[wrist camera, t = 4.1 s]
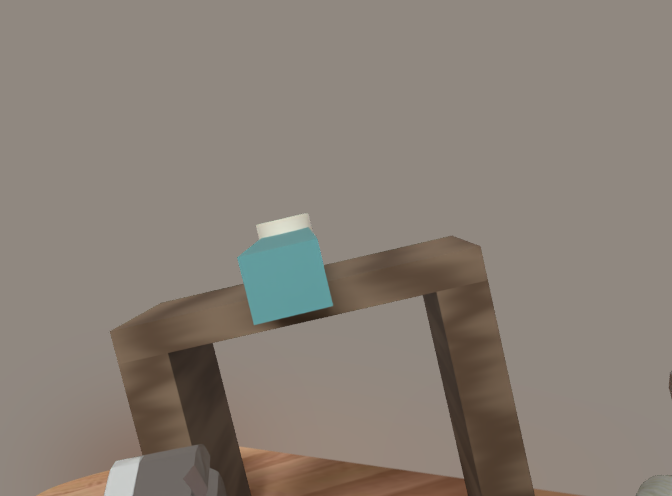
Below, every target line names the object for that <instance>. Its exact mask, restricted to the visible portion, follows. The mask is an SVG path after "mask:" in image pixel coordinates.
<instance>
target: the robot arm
mask: <svg viewBox="0 0 672 496" xmlns="http://www.w3.org/2000/svg"><path fill="white" fill-rule="evenodd" d="M669 389H670V393H671V397H672V371H671V372H670V380H669ZM104 496H227V492H226V489H225V486H224V482H223V480H222V478H221V476H220V474H219V472H218V471H216V470H214V469H212V468H210V454H209V453H208V451H207V449H206V448H205V446H204V444H199V445H193V446H188V447H183V448H178V449H173V450H168V451H162V452H157V453H152V454H147V455H143V456H138V457H133V458H128V459H123V460H119V461H116V462H115V463H114V465H113V466H112V468H111V470H110V472H109V477H108V481H107V485H106V489H105V493H104Z"/></svg>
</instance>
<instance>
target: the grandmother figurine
mask: <svg viewBox="0 0 672 496" xmlns="http://www.w3.org/2000/svg"><path fill="white" fill-rule="evenodd" d="M636 496H672V475H666V476H664V475H663V476H662V475H657V476H653V477H651V478H649V479H648V480H647V481H645V482H643V484H642V485H641V486H640V488H639V491H638V493H637V494H636Z"/></svg>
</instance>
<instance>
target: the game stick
mask: <svg viewBox="0 0 672 496" xmlns="http://www.w3.org/2000/svg"><path fill="white" fill-rule="evenodd" d="M256 228H257V232H258V236H259V241H257V242H256V243H255V244H253V245H252V246H251V247H250V248H248V249H247V250H246V251H245V252H244V253H242V254H241V255H240V256H239V257H237V258H238V262H239V266H240V270H241V274H242V278H243V282H244V287H245V291H246V295H247V299H248V303H249V307H250V311H251V315H252V319H253V323H254V325H257V324H261V323H265V322H269V321H273V320H277V319H281V318H286V317H290V316H294V315H298V314H302V313H306V312H310V311H314V310H319V309H323V308H327V307H331V306H333V303H332V299H331V295H330V290H329V286H328V282H327V278H326V273H325V269H324V265H323V261H322V257H321V252H320V248H319V245H318V240H317V238H316V236H315V235H314V234H313V231H312V227H311V222H310V218H309V214H308V213H305V214H300V215H296V216H292V217H288V218H283V219H279V220H275V221H271V222H266V223H262V224H258V225H256Z"/></svg>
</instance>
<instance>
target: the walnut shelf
mask: <svg viewBox="0 0 672 496" xmlns="http://www.w3.org/2000/svg"><path fill="white" fill-rule="evenodd" d="M324 269H325V273H326V278H327V282H328V286H329V290H330V295H331V299H332V303H333V306H331V307H327V308H323V309H319V310H314V311H310V312H306V313H302V314H298V315H294V316H290V317H286V318H281V319H277V320H273V321H269V322H265V323H261V324H257V325H254V323H253V319H252V315H251V311H250V307H249V303H248V299H247V295H246V291H245V287H244V284H241V285H236V286H232V287H228V288H223V289H219V290H215V291H210V292H206V293H202V294H197V295H193V296H189V297H184V298H180V299H176V300H172V301H167V302H163V303H160V304H159V305H156V306H155V307H153V308H151V309H149V310H147V311H146V312H144V313H142V314H140V315H139V316H137V317H135V318H133V319H131V320H130V321H128V322H126V323H124V324H122V325H121V326H119V327H117V328H115V329H113V330H112V331H110V334H111V338H112V341H113V345H114V349H115V353H116V356H117V360H118V364H119V368H120V372H121V375H122V379H123V383H124V387H125V390H126V394H127V398H128V402H129V405H130V409H131V413H132V417H133V421H134V424H135V428H136V432H137V436H138V439H139V444H140V447H141V451H142V455H147V454H152V453H157V452H162V451H168V450H173V449H178V448H183V447H188V446H193V445H199V444H204V446H205V448H206V449H207V451H208V453H209V454H210V468H212V469H214V470H216V471H218V472H219V474H220V476H221V478H222V480H223V482H224V486H225V489H226V492H227V496H251V493H250V489H249V485H248V481H247V477H246V473H245V469H244V465H243V461H242V458H241V454H240V450H239V446H238V442H237V438H236V434H235V430H234V426H233V422H232V418H231V414H230V410H229V406H228V402H227V398H226V394H225V390H224V387H223V382H222V379H221V374H220V370H219V366H218V362H217V358H216V355H215V351H214V347H213V343H214V342H219V341H223V340H227V339H232V338H236V337H240V336H245V335H249V334H254V333H258V332H263V331H267V330H271V329H276V328H280V327H285V326H289V325H293V324H298V323H301V322H306V321H311V320H315V319H319V318H324V317H328V316H333V315H337V314H342V313H346V312H350V311H355V310H359V309H363V308H368V307H372V306H376V305H381V304H386V303H390V302H394V301H398V300H403V299H407V298H412V297H416V296H420V295H423V298H424V302H425V307H426V311H427V316H428V320H429V324H430V329H431V333H432V338H433V342H434V346H435V351H436V355H437V360H438V364H439V369H440V373H441V378H442V381H443V386H444V391H445V395H446V400H447V404H448V408H449V413H450V418H451V422H452V426H453V431H454V435H455V440H456V444H457V449H458V452H459V457H460V462H461V466H462V470H463V475H464V480H465V484H466V488H467V493H468V496H535V495H534V490H533V486H532V481H531V476H530V472H529V467H528V463H527V458H526V453H525V449H524V444H523V440H522V435H521V431H520V426H519V421H518V417H517V412H516V408H515V403H514V398H513V394H512V389H511V385H510V380H509V375H508V371H507V366H506V361H505V357H504V353H503V348H502V343H501V339H500V334H499V329H498V325H497V320H496V316H495V311H494V306H493V302H492V298H491V293H490V288H489V283H488V279H487V274H486V270H485V265H484V260H483V256H482V251H481V247H480V246H478V245H475V244H473V243H470V242H468V241H465V240H462V239H459V238H457V237H454V236H448V237H444V238H440V239H436V240H431V241H427V242H423V243H418V244H414V245H410V246H406V247H401V248H397V249H393V250H388V251H384V252H380V253H375V254H371V255H366V256H362V257H358V258H353V259H350V260H345V261H341V262H336V263H332V264H327V265H324Z"/></svg>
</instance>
